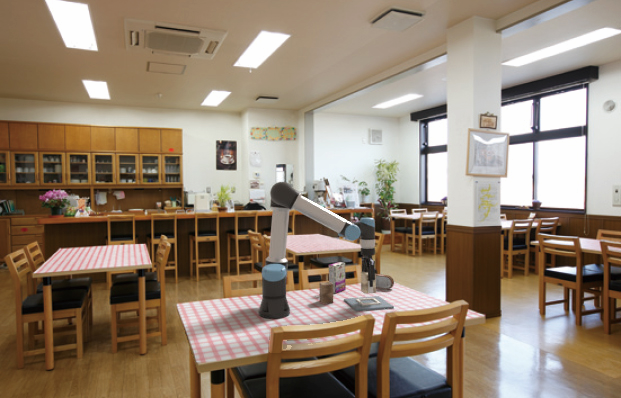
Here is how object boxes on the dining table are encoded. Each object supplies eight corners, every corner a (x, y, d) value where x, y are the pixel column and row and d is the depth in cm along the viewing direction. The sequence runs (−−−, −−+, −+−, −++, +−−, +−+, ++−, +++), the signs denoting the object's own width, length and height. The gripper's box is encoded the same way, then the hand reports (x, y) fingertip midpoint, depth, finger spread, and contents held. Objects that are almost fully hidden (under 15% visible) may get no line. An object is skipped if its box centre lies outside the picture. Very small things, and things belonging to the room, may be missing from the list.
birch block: (365, 293, 210) (364, 274, 209) (361, 290, 216) (360, 272, 215) (375, 292, 211) (375, 273, 211) (371, 290, 217) (371, 271, 217)
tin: (394, 289, 244) (394, 275, 244) (392, 290, 242) (392, 276, 241) (371, 286, 252) (371, 272, 252) (369, 287, 250) (368, 273, 250)
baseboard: (356, 311, 201) (356, 309, 201) (344, 300, 221) (344, 298, 221) (393, 308, 206) (393, 306, 206) (378, 297, 225) (378, 296, 225)
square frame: (362, 305, 207) (362, 304, 207) (355, 300, 217) (355, 298, 217) (380, 304, 210) (380, 302, 210) (373, 299, 219) (373, 297, 219)
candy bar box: (338, 288, 247) (338, 261, 246) (345, 289, 244) (345, 262, 243) (328, 292, 238) (328, 264, 238) (335, 293, 235) (335, 265, 235)
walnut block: (322, 303, 215) (322, 285, 215) (319, 300, 221) (319, 282, 221) (333, 302, 217) (333, 284, 216) (330, 299, 222) (330, 281, 222)
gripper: (381, 249, 204) (382, 295, 205) (368, 244, 223) (368, 286, 223) (367, 250, 203) (368, 296, 203) (355, 245, 221) (355, 287, 222)
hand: (368, 291), depth 213 cm, fingers closed on birch block, 6 cm apart
